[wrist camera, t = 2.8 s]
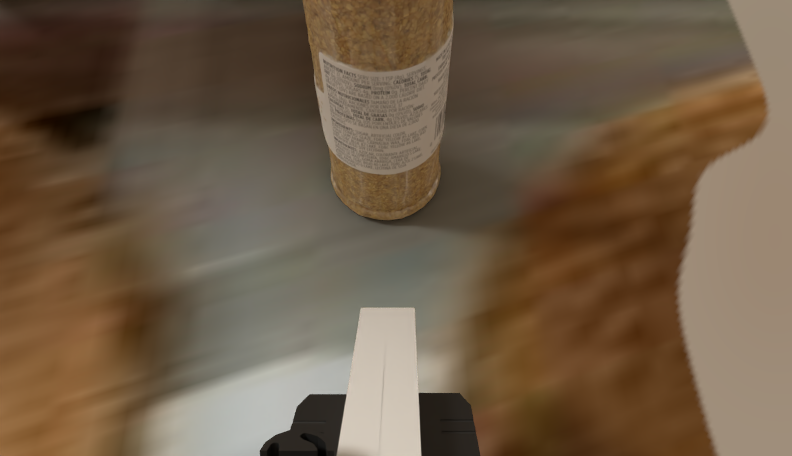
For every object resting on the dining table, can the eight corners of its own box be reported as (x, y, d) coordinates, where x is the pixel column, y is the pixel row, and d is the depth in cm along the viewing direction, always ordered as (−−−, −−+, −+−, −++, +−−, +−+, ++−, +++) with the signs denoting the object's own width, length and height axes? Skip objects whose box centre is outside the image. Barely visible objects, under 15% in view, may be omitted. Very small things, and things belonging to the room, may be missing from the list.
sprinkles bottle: (355, 121, 27) (318, -230, 15) (455, 150, 26) (499, -197, 14) (312, 206, 25) (230, -123, 13) (420, 240, 24) (437, -77, 12)
